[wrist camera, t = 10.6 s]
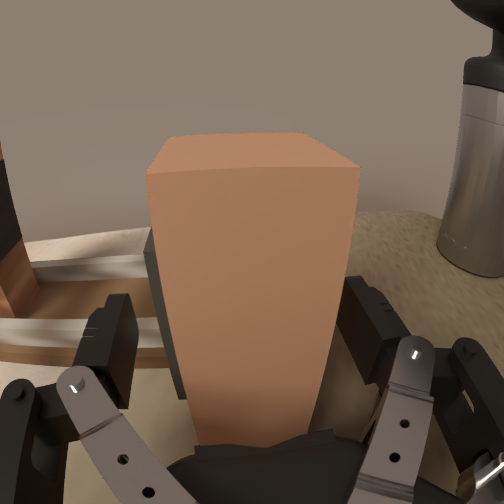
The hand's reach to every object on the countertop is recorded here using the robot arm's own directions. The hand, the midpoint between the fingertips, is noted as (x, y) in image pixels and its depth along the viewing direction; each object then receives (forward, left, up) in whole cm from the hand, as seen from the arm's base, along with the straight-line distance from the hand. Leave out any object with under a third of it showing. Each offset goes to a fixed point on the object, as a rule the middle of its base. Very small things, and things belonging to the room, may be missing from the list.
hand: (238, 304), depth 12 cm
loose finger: (0, +1, -7) cm, 7 cm away
